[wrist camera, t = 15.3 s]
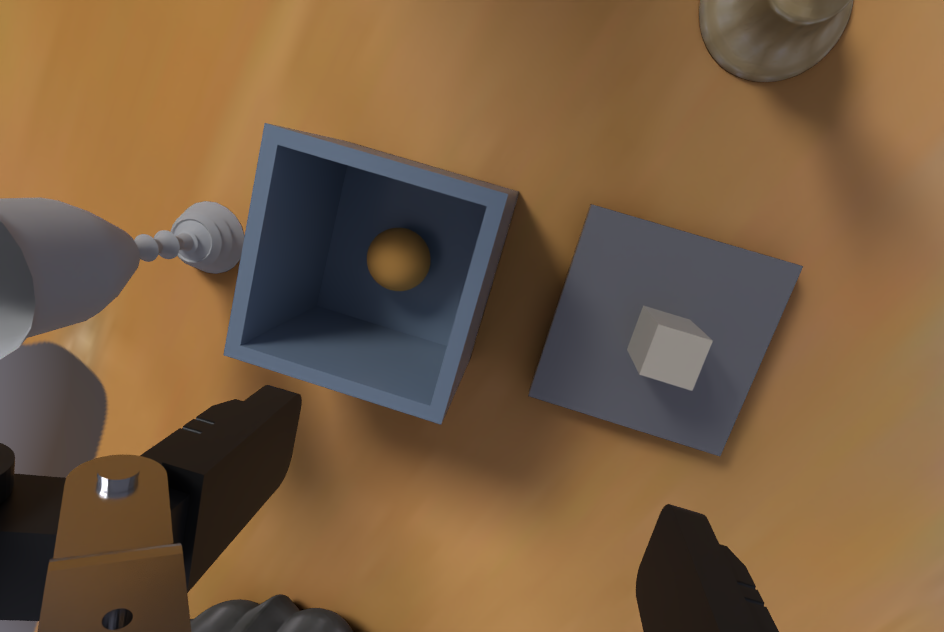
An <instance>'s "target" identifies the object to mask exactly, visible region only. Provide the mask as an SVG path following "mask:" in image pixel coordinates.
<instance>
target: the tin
mask: <svg viewBox="0 0 944 632" xmlns="http://www.w3.org/2000/svg"><path fill="white" fill-rule="evenodd" d="M518 195H519V191H515V190H512V189H508V188H505V187H501V186H498V185H495V184H491V183H488V182H484V181H481V180H477V179H474V178H471V177H467V176H464V175H460V174H457V173H453V172H450V171H447V170H443V169H440V168H436V167H433V166H429V165H426V164H423V163H419V162H416V161H412V160H409V159H405V158H402V157H399V156H395V155H392V154H388V153H385V152H381V151H378V150H375V149H371V148H368V147H364V146H361V145H358V144H354V143H351V142H347V141H344V140H339V139H335V138H330V137H326V136H321V135H317V134H312V133H308V132H303V131H299V130H294V129H290V128H285V127H281V126H276V125H272V124H267V123H265V125H264V130H263V136H262V141H261V147H260V153H259V158H258V164H257V170H256V175H255V181H254V186H253V192H252V198H251V203H250V209H249V215H248V220H247V226H246V231H245V237H244V243H243V248H242V254H241V260H240V265H239V271H238V277H237V282H236V288H235V293H234V299H233V305H232V310H231V316H230V322H229V327H228V333H227V338H226V344H225V350H224V355H225V356H228V357H231V358H234V359H238V360H241V361H244V362H247V363H250V364H253V365H256V366H259V367H263V368H266V369H269V370H272V371H275V372H278V373H281V374H284V375H288V376H291V377H294V378H297V379H300V380H303V381H306V382H309V383H313V384H316V385H319V386H322V387H325V388H328V389H331V390H334V391H338V392H341V393H344V394H347V395H350V396H353V397H356V398H359V399H363V400H366V401H369V402H372V403H375V404H378V405H381V406H384V407H388V408H391V409H394V410H397V411H400V412H403V413H406V414H409V415H413V416H416V417H419V418H422V419H425V420H428V421H431V422H434V423H438V424H442V422H443V419H444V417H445V415H446V413H447V410H448V408H449V406H450V404H451V401H452V399H453V397H454V395H455V392H456V390H457V388H458V386H459V383H460V381H461V379H462V377H463V374H464V372H465V370H466V368H467V365H468V363H469V361H470V358H471V354H472V351H473V347H474V344H475V341H476V337H477V334H478V331H479V327H480V324H481V320H482V317H483V314H484V310H485V307H486V303H487V300H488V297H489V293H490V290H491V287H492V283H493V280H494V276H495V273H496V270H497V266H498V263H499V259H500V256H501V253H502V249H503V246H504V243H505V239H506V236H507V232H508V229H509V226H510V222H511V219H512V215H513V212H514V209H515V205H516V202H517V199H518ZM390 228H406V229H409V230H412V231H414V232H415V233H417V234H418V235H419V236H421V237H422V239H423V240H424V241H425V242H426V244H427V246H428V248H429V251H430V258H431V262H430V268H429V271H428V273H427V275H426V277H425V278H424V280H423V281H422V282H421V283H420V284H419V285H417V286H416V287H414V288H412V289H409V290H406V291H392V290H389V289H386V288H384V287H382V286H381V285H379V284H378V283H377V282H376V281H375V280H374V279H373V277H372V276H371V274H370V272H369V269H368V266H367V252H368V249H369V246H370V244H371V242H372V241H373V240H374V238H375V237H376V236H377V235H378V234H380V233H381V232H383V231H385V230H387V229H390Z"/></svg>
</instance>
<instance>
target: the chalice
mask: <svg viewBox="0 0 944 632" xmlns="http://www.w3.org/2000/svg"><path fill="white" fill-rule="evenodd" d="M243 243H244V233H243V230H242V226H241V224H240V223H239V221H238V219H237V218H236V216H235V215H234V214H233V213H232V212H231V211H230V210H229V209H227V208H226V207H224V206H222V205H220V204H218V203H216V202H207V201H204V202H200V203H195V204H194V205H192V206H191V207H189V208H188V209H186V211H185V212H184V213H183V214H181V216H180V217H179V218H177V220H176V221H175V223H174V224H173V226H172V229H171V232H169V231H165V230H163V231H159V232H158V233H156V235H155V236H154V239H153V238H152V237H151V236H149V235H146V234H141V235H138V236H137V237H136V238H135V240H133V238H132V237H131V236H130V235H129V234H128V233H127V232H125V231H124V230H122V229H120V228H118V227H116V226H115V225H113V224H111V223H109V222H107V221H106V220H104V219H102V218H100V217H98V216H96V215H94V214H92V213H90V212H88V211H86V210H83V209H80V208H78V207H75V206H72V205H69V204H66V203H64V202H61V201H57V200H51V199H45V198H6V199H0V359H2V358H3V357H5V356H6V355H8V354H9V353H11V352H13V351H14V350H16V349H17V348H19V347H20V346H21V344H22V343H23V342H24V341H25V339H26V338H28V337H32V336H35V335H39V334H42V333H45V332H49V331H52V330H56V329H59V328H63V327H66V326H69V325H73V324H76V323H80V322H83V321H86V320H88V319H89V318H91V317H93V316H94V315H96V314H98V313H99V312H100V311H102V310H103V309H104V308H105V307H106V306H107V305H108V304H109V303H110V302H112V301H113V300H114V299H115V298H116V297H117V296H118V295H119V294H120V292H121V291H122V289H123V288H124V287H125V285H126V284H127V282H128V281H129V279H130V278H131V277H132V275H133V274H134V272H135V271H136V269H137V268H138V265H139V261H140V259H142V260H144V261H147V262H150V261H153V260H155V259H156V257H157V256H158V254H159V255H160V256H161V257H163V258H165V259H172V258H174V257H176V256H178V257H179V258H180V259H181V260H182V261H183V262H184V263H186V264H188V265H190V266H192V267H195V268H197V269H200V270H202V271H204V272H208V273H215V274H217V273H222V272H226V271H228V270H230V269H231V268H233V267H234V266H235V265H236V264H237V263H238V261H239V260H240V259H241V254H242V248H243Z"/></svg>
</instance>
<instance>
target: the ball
mask: <svg viewBox="0 0 944 632" xmlns="http://www.w3.org/2000/svg"><path fill="white" fill-rule="evenodd" d="M430 262H431V258H430V251H429V248H428V246H427V244H426V242H425V241H424V240H423V239H422V237H421V236H419V235H418V234H417V233H415V232H414V231H412V230H409V229H406V228H390V229H387V230H385V231H383V232H381V233H380V234H378V235H377V236H376V237H375V238H374V240H373V241H372V242H371V244H370V246H369V249H368V252H367V266H368V269H369V272H370V274H371V276H372V277H373V279H374V280H375V281H376V282H377V283H378V284H379V285H381V286H382V287H384V288H386V289H389V290H392V291H406V290H409V289H412V288H414V287H416V286H417V285H419V284H420V283H421V282H422V281H423V280H424V278H425V277H426V275H427V273H428V271H429V268H430Z"/></svg>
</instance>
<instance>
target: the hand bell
mask: <svg viewBox="0 0 944 632" xmlns="http://www.w3.org/2000/svg"><path fill="white" fill-rule="evenodd" d="M852 6H853V0H700V6H699V22H700V29H701V34H702V37H703V40H704V42H705V45H706V47H707V48H708V50H709V52H710V54H711V55H712V57H713V58H714V59H715V60H716V61H717V62H718V63H719V65H720V66H721V67H722V68H724V69H725V70H726V71H728V72H730V73H732V74H734V75H735V76H737V77H740V78H743V79H746V80H750V81H756V82H774V81H780V80H784V79H788V78H791V77H794V76H796V75H798V74H800V73H802V72H804V71H806V70H808V69H809V68H811V67H812V66H814V65H815V64H817V63H818V62H819V61H820V60H821V59H822V58H823V57H825V56H826V55H827V54H828V53H829V51H830V50H831V49H832V48H833V47H834V45H835V44H836V43H837V41H838V40H839V38H840V37H841V35H842V33H843V31H844V29H845V27H846V25H847V23H848V20H849V17H850V14H851V10H852Z"/></svg>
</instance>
